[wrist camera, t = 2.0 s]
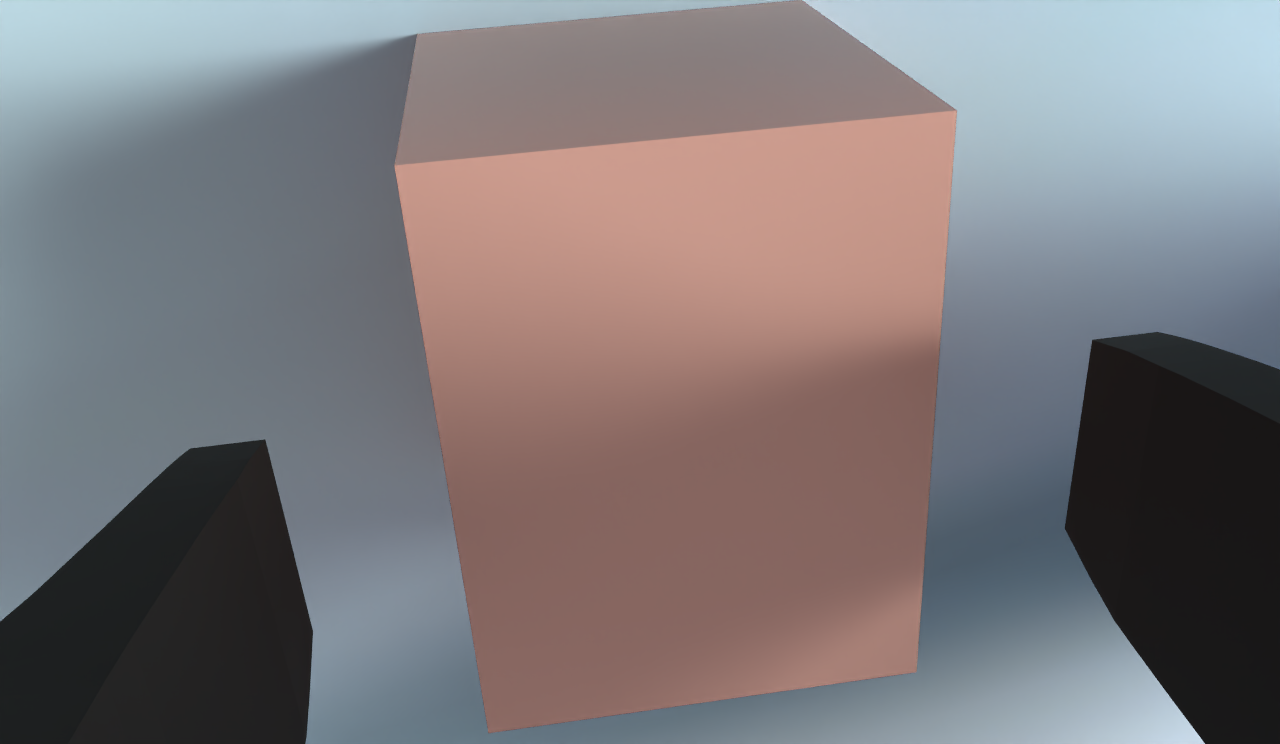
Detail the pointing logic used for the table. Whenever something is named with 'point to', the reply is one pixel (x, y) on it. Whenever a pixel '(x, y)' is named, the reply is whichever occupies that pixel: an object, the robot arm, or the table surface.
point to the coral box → (679, 350)
